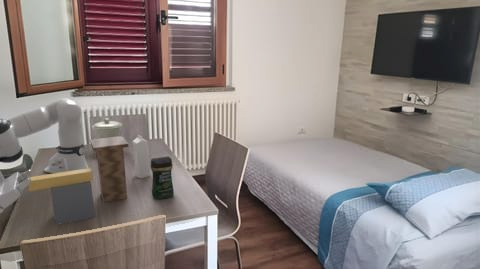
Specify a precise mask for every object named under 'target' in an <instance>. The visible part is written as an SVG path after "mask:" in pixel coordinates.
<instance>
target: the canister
mask: <svg viewBox="0 0 480 269" xmlns="http://www.w3.org/2000/svg"><path fill="white" fill-rule="evenodd" d="M122 126H123V123H121V122H119V121H114V120H110V119H109V118H108V117H106V118H103V121H100V122H99V121H98V122H96V123H94V124H93V125H92V126H91V128H92V129H93V133H94V139H101V138H109V137H118V136H122Z"/></svg>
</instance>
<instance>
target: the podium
mask: <svg viewBox="0 0 480 269" xmlns="http://www.w3.org/2000/svg"><path fill="white" fill-rule="evenodd" d="M91 182H92V181H88V182H82V183H76V184H70V185H64V186H58V187H52V188H50V192H51V193H50V194H51V200H52V206H53V213H54V214H53V215H54V220H55V221H54V222H55V225H56V224H58V225H60V224H59V223H63V224H66V222H68V223H71V222H70V221H73V222H76V221H75V220H77V221H81V219H82V220H86V218H87V219H91V217H92V218H95V217H96V216H95V215H96V214H95V204H94V196H93V188H92V183H91Z"/></svg>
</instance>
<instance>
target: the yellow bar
mask: <svg viewBox="0 0 480 269" xmlns="http://www.w3.org/2000/svg"><path fill="white" fill-rule="evenodd" d="M27 178H30V179H31V183H30V184H28V185H27V186H28V189H29V190H28V192H33V191H40V190H44V189H51V188H52V187H58V186H64V185H70V184H76V183H82V182H88V181H91V182H92V181H93V182H94V180H93V172H92V169H91V167H88V168H87V169H80V170H74V171H67V172H60V173H49V174H41V175H34V176H30V177H29V176H27Z"/></svg>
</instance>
